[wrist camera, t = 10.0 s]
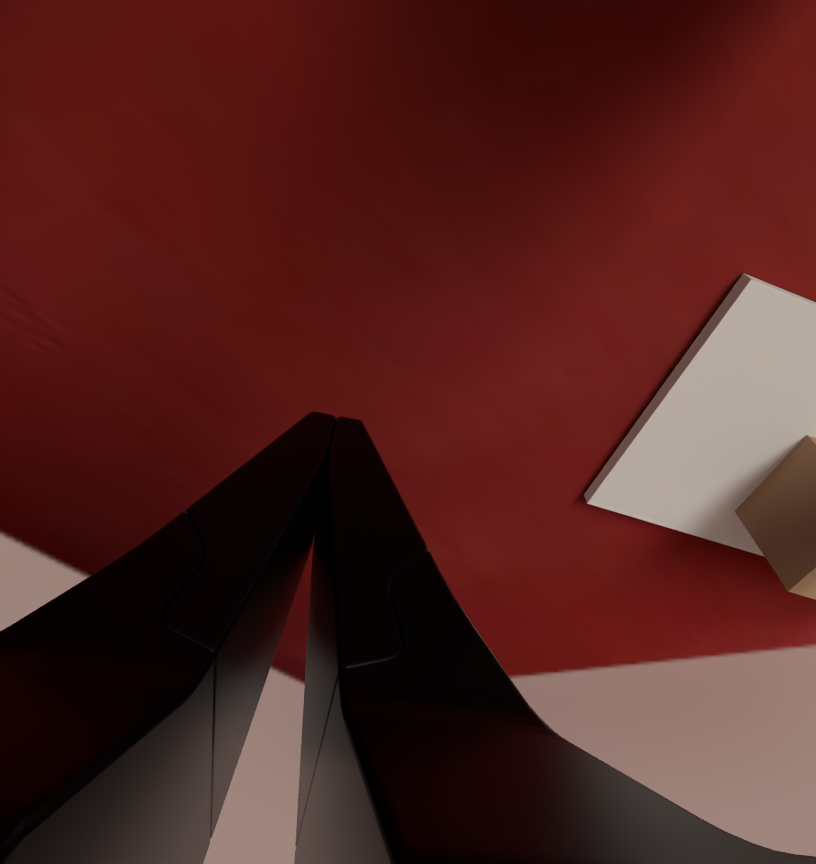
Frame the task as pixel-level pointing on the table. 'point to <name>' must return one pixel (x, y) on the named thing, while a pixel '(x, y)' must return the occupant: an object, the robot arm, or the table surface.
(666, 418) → the mat
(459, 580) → the table surface
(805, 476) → the walnut block
